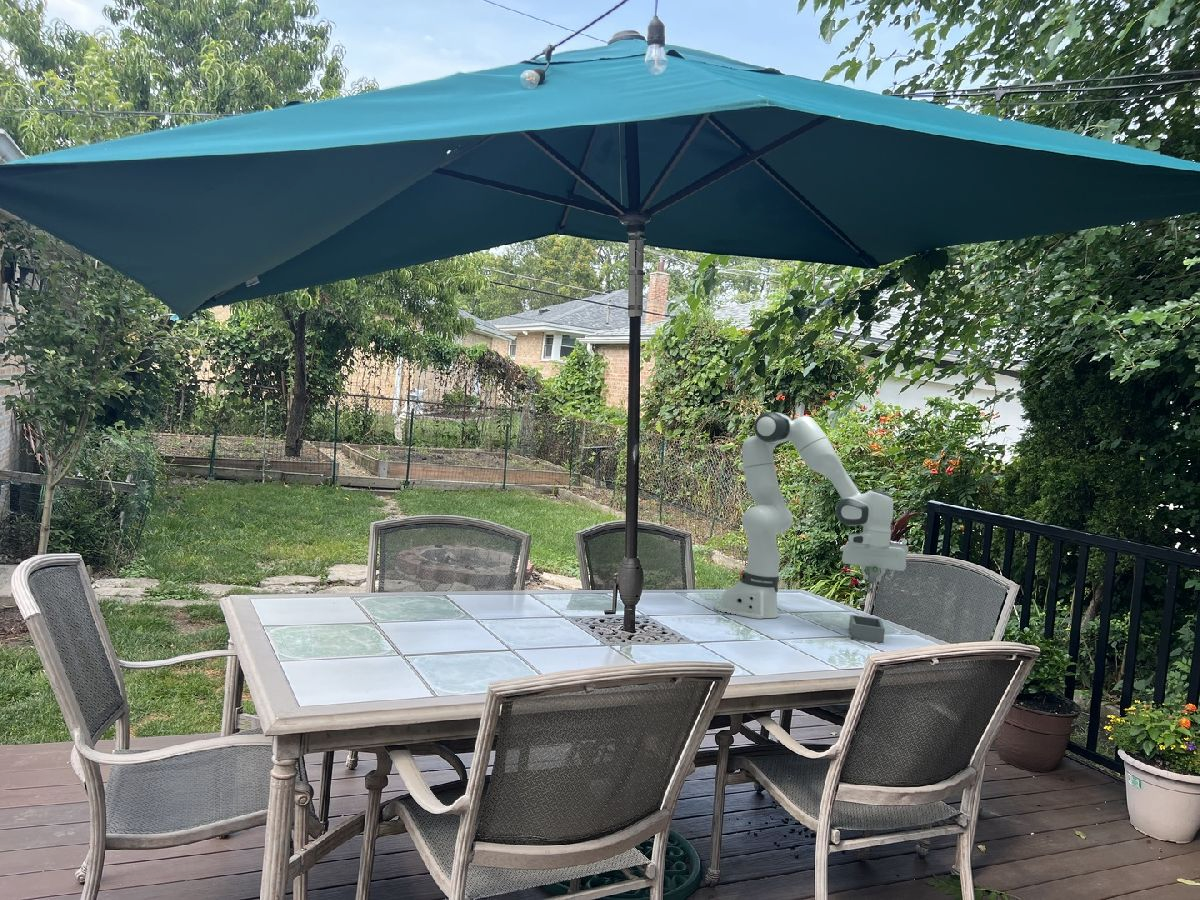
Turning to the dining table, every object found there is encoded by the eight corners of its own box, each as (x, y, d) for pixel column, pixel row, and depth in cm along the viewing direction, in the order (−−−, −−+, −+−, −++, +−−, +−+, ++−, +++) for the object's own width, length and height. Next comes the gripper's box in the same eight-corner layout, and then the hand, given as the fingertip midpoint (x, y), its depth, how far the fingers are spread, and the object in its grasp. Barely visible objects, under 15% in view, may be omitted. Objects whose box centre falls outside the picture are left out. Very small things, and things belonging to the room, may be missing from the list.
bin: (851, 639, 276) (852, 624, 276) (848, 629, 291) (850, 614, 291) (883, 644, 274) (884, 628, 274) (879, 633, 289) (880, 619, 288)
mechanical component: (867, 596, 277) (870, 565, 277) (863, 590, 287) (867, 560, 287) (876, 597, 277) (880, 566, 276) (872, 591, 287) (876, 561, 286)
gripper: (907, 542, 282) (903, 583, 282) (844, 534, 287) (840, 574, 287) (910, 544, 276) (905, 586, 276) (845, 536, 281) (840, 577, 281)
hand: (871, 580), depth 282 cm, fingers closed on mechanical component, 3 cm apart
